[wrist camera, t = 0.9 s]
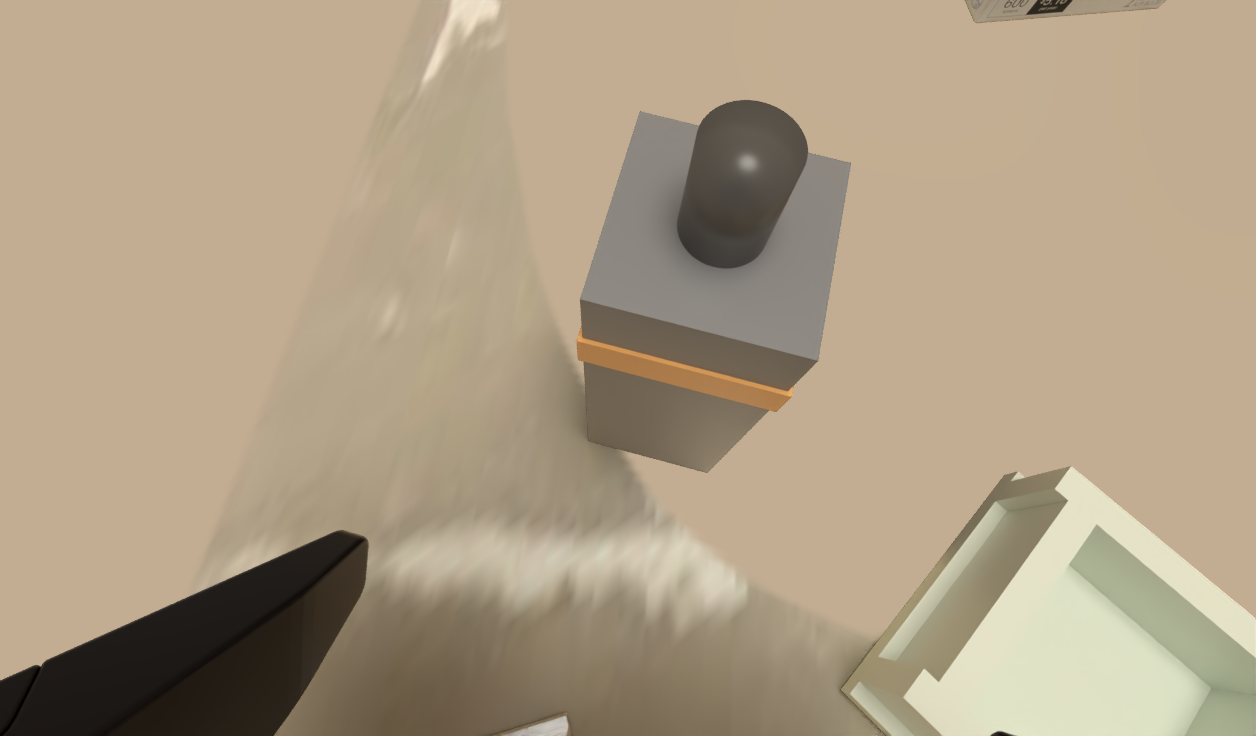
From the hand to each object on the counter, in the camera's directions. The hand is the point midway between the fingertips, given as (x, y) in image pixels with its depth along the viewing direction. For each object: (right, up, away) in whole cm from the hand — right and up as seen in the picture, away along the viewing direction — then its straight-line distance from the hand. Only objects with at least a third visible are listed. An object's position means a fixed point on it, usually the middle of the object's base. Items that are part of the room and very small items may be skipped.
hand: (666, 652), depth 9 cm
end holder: (+14, -7, +12) cm, 19 cm away
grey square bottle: (+1, +3, +15) cm, 15 cm away
